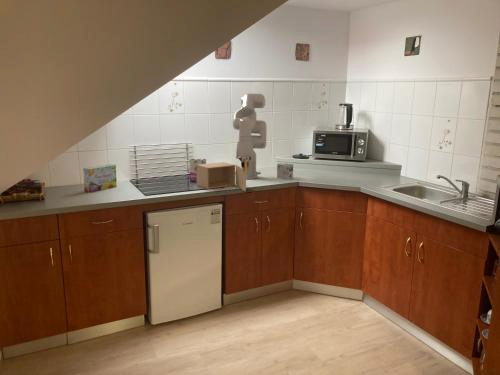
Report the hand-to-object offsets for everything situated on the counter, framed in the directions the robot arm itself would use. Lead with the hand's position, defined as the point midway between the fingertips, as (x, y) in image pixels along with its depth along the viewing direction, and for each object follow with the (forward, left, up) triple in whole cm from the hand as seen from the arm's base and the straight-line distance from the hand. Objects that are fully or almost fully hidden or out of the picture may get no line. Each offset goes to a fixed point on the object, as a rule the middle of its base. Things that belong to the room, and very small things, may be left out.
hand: (244, 167), depth 269 cm
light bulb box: (-51, -18, -15) cm, 57 cm away
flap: (-3, -7, -15) cm, 17 cm away
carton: (+6, -25, -15) cm, 30 cm away
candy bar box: (+10, -42, -15) cm, 46 cm away
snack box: (+74, -55, -16) cm, 93 cm away
